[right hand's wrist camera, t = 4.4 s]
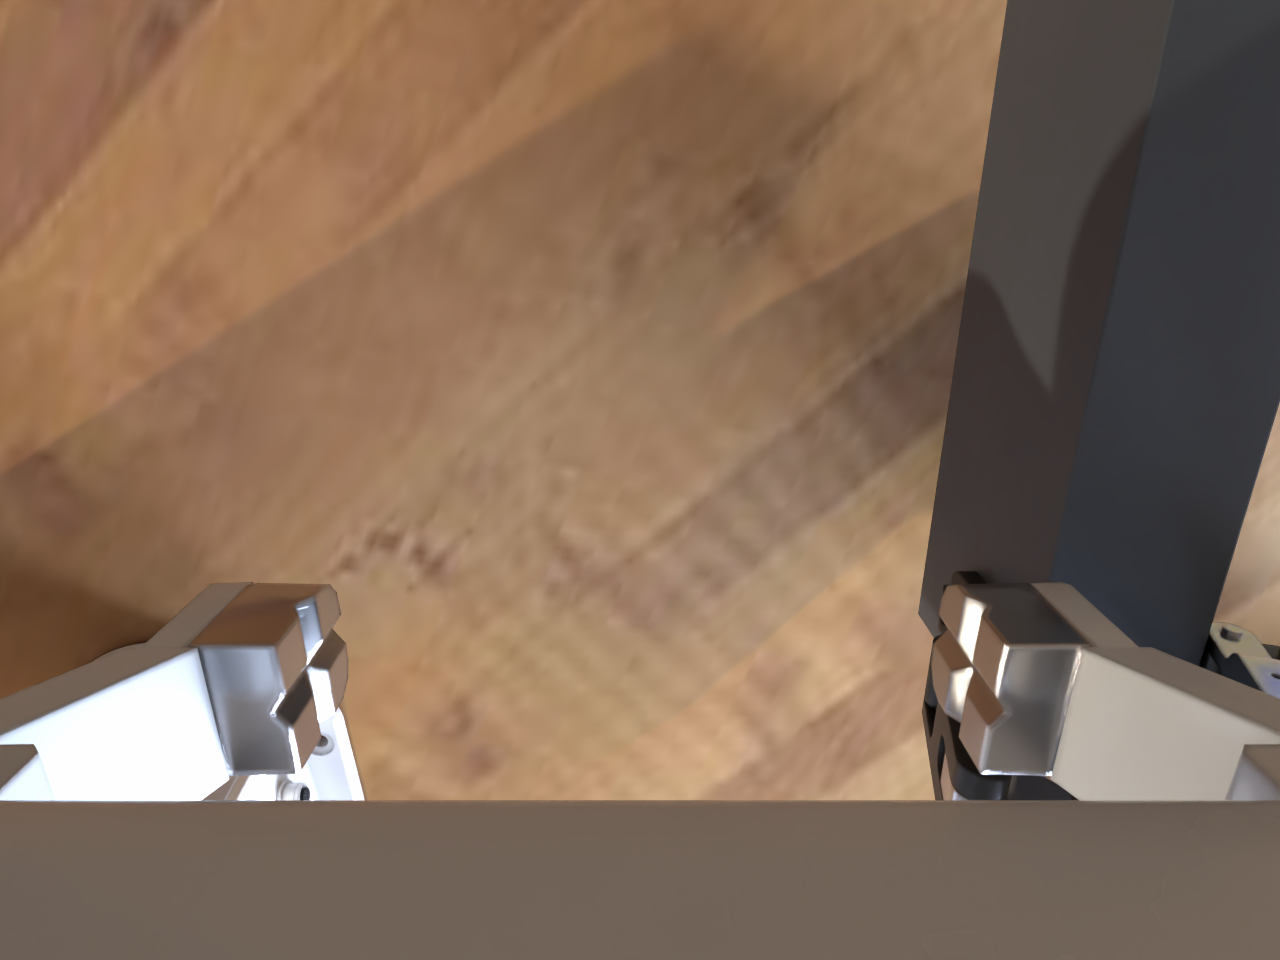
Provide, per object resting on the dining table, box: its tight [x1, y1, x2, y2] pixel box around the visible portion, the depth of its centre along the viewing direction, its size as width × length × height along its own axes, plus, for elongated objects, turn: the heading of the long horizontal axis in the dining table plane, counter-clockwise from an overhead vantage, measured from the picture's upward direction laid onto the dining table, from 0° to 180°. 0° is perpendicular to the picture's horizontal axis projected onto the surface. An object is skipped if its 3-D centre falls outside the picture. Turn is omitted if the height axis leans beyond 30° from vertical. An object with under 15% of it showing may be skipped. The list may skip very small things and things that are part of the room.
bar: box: [918, 0, 1280, 666], centre depth 23 cm, size 27×5×9 cm, turn 0°
